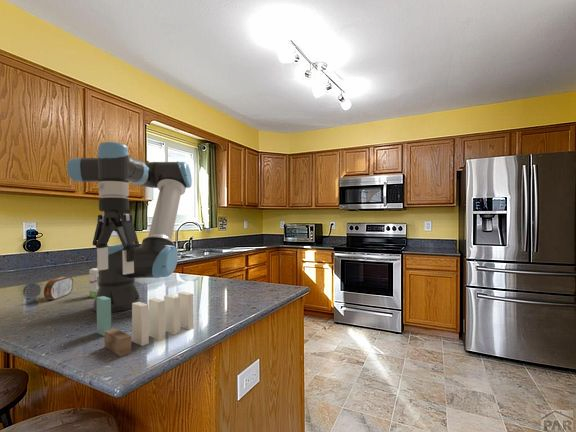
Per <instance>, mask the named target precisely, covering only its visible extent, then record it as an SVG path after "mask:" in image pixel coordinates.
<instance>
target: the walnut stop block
mask: <svg viewBox="0 0 576 432" xmlns="http://www.w3.org/2000/svg"><path fill="white" fill-rule="evenodd" d="M104 348H105V349H107V350H108V351H111V352H112V353H114V354H116V355H117V356H119V357H121V358H122V357H123V356H126V355H130V354H132V336H131V335H129V334H127V333H125V332H123V331H121V330H119V329H117V328H111V330H107V331H105V336H104Z"/></svg>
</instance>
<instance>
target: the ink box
mask: <svg viewBox="0 0 576 432" xmlns="http://www.w3.org/2000/svg"><path fill="white" fill-rule="evenodd" d="M88 274H89V283H88V284H89V297H90V298H94V299H95V297H96V295H97V292H98V289H99V271H98V270H97V267H96V268H94V267H93V268H91V269H89V272H88Z"/></svg>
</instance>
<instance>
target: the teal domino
mask: <svg viewBox="0 0 576 432" xmlns="http://www.w3.org/2000/svg"><path fill="white" fill-rule="evenodd" d="M111 329H112V312H111V298H108V297H105V296H101V297H97V312H96V333H97V334H99V335H101V336H103V337H105V331H107V330H111Z"/></svg>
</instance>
